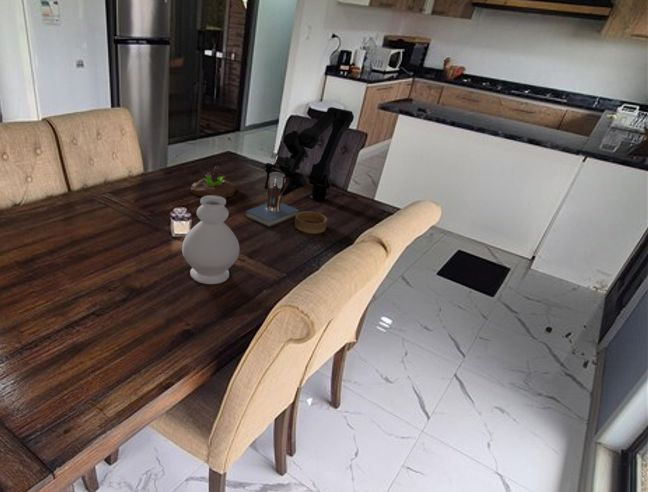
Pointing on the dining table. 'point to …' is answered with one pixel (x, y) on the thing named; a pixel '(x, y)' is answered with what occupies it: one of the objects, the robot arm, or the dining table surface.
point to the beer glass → (275, 191)
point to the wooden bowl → (309, 216)
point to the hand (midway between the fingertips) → (273, 192)
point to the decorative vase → (211, 243)
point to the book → (271, 214)
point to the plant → (214, 186)
